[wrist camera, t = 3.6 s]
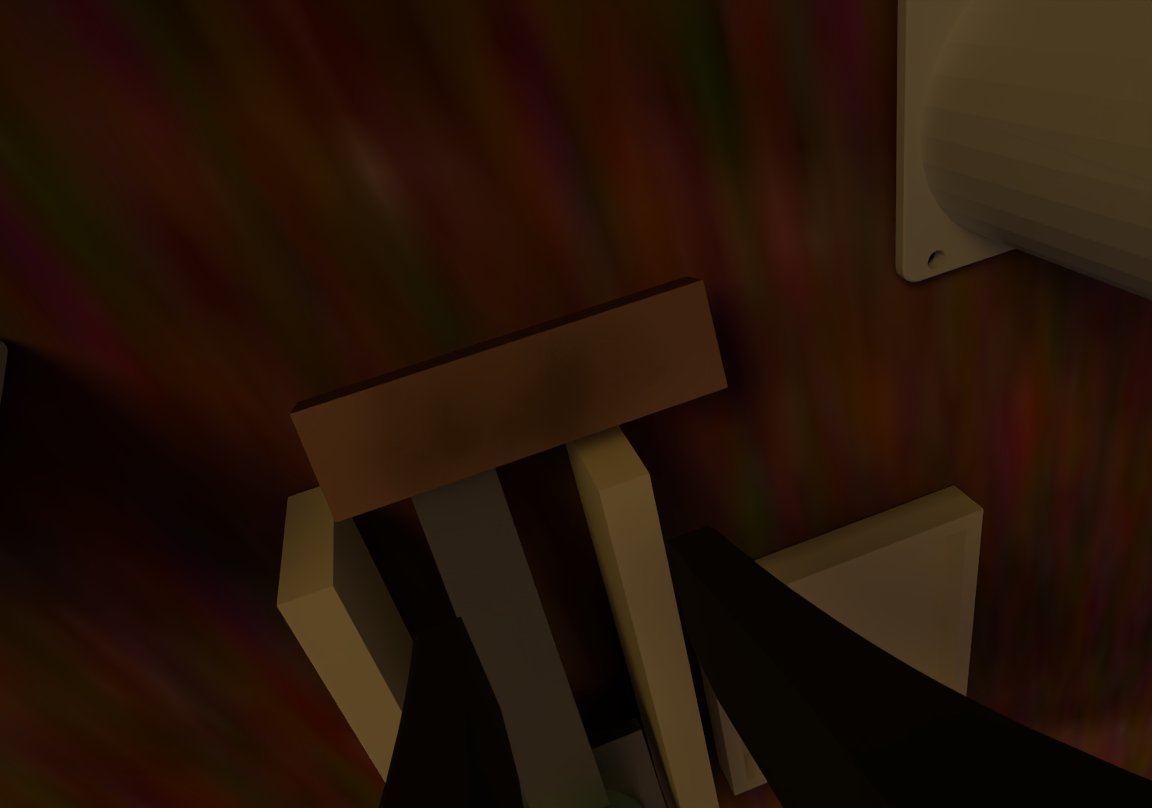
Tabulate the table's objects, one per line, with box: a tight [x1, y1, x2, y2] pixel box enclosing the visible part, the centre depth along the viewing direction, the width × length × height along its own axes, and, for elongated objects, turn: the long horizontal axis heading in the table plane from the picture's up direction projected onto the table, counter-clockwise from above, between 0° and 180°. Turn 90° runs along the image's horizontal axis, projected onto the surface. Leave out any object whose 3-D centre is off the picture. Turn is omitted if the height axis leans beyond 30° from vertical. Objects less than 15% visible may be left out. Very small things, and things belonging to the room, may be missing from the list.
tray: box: [698, 485, 983, 795], centre depth 27 cm, size 10×10×1 cm
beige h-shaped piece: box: [277, 425, 719, 808], centre depth 23 cm, size 8×18×4 cm, turn 14°
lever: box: [290, 276, 728, 808], centre depth 20 cm, size 9×19×4 cm, turn 14°
